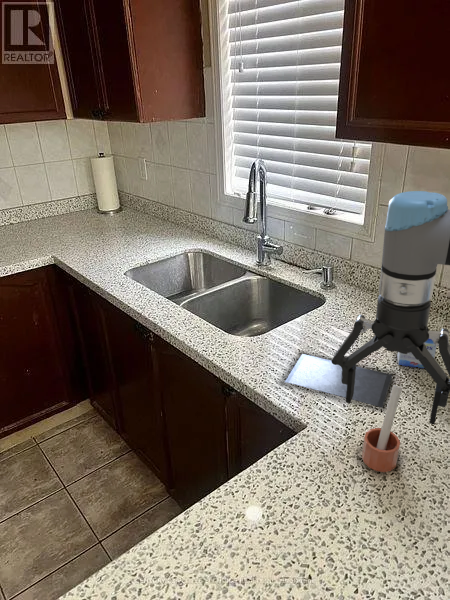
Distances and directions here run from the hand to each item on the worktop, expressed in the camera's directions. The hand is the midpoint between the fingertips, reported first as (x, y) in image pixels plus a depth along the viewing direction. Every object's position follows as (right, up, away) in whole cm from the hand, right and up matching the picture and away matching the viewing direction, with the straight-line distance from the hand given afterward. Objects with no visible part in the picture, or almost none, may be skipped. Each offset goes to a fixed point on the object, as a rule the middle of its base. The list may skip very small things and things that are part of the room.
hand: (389, 408), depth 77 cm
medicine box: (+19, +3, +34) cm, 39 cm away
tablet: (-2, -1, +28) cm, 28 cm away
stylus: (-1, -12, +4) cm, 12 cm away
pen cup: (0, -12, +6) cm, 13 cm away
